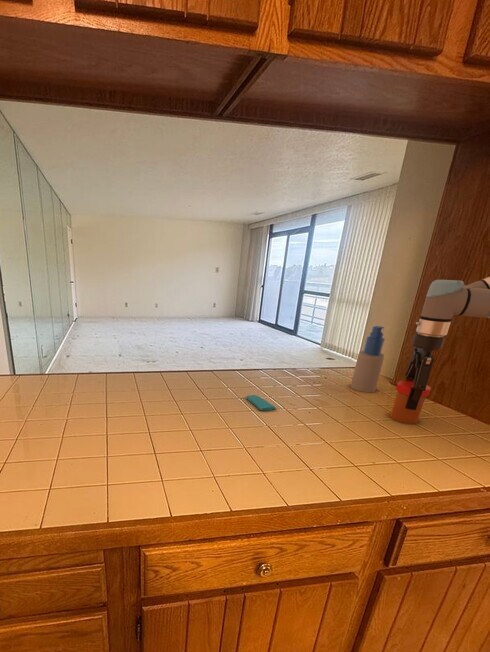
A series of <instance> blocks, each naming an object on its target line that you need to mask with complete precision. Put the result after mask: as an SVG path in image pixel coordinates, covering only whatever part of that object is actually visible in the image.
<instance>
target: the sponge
mask: <svg viewBox="0 0 490 652" xmlns="http://www.w3.org/2000/svg"><path fill="white" fill-rule="evenodd" d="M246 399H247V401H249V402H250V403H252V404H253V405H254V406H255V407H256V408H257V409H258V410H259V411H271V410H276V406H274V405H273V404H272V403H269V401H267V400H265V399H264V398H262V397H261V396H258V395H256V394H250V395H249V394H248V395H247V396H246Z"/></svg>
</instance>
